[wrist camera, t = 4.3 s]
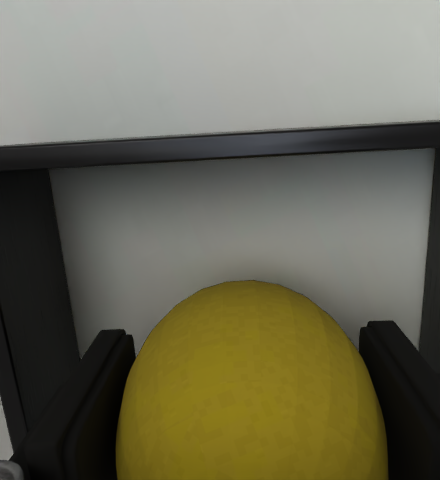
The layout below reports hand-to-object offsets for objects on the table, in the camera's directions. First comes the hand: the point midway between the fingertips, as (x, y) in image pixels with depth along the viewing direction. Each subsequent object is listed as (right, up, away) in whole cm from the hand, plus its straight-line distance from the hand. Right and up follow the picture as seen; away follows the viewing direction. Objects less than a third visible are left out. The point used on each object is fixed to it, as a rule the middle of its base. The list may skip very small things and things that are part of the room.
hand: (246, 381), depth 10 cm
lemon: (0, +1, +3) cm, 3 cm away
